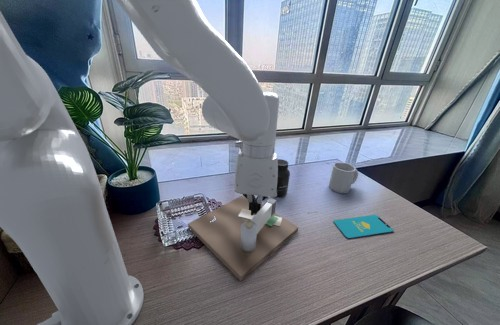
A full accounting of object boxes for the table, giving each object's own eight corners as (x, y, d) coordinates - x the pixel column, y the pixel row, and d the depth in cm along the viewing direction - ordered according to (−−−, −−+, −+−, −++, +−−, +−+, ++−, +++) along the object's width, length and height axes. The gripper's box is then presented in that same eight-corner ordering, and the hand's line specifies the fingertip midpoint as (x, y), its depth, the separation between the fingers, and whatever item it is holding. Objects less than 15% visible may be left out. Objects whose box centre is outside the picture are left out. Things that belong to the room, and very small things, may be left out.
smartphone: (332, 219, 62) (376, 213, 65) (331, 222, 62) (375, 216, 65) (347, 238, 55) (395, 231, 58) (346, 241, 56) (394, 233, 59)
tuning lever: (250, 254, 48) (252, 230, 45) (237, 247, 50) (238, 224, 47) (277, 218, 59) (279, 198, 56) (265, 214, 61) (267, 193, 58)
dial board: (240, 281, 44) (240, 275, 43) (188, 227, 57) (187, 222, 56) (297, 231, 58) (298, 226, 57) (244, 197, 71) (244, 193, 70)
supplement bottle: (282, 201, 70) (286, 168, 65) (264, 194, 73) (266, 163, 68) (290, 191, 75) (294, 161, 70) (272, 185, 78) (275, 156, 73)
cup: (325, 183, 81) (329, 162, 77) (348, 181, 83) (353, 161, 79) (335, 194, 75) (341, 172, 71) (360, 192, 77) (367, 170, 73)
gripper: (221, 151, 46) (223, 218, 54) (291, 158, 44) (282, 226, 52) (230, 139, 52) (230, 200, 60) (291, 145, 50) (283, 207, 58)
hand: (254, 212), depth 56 cm, fingers closed
